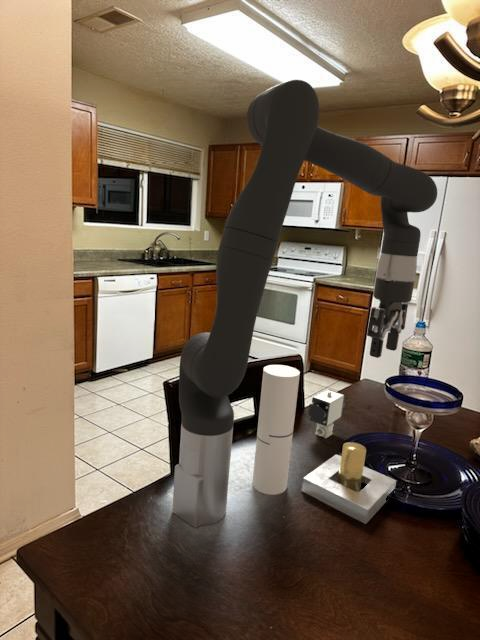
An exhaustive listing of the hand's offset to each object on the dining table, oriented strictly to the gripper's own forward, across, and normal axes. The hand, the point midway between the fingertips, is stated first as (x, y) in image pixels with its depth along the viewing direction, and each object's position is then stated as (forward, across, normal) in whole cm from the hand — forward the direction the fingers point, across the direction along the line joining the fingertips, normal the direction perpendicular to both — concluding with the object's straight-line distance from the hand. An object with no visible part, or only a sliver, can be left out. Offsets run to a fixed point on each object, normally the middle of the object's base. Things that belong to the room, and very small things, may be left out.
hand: (383, 353), depth 93 cm
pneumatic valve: (+28, -9, -16) cm, 34 cm away
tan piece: (+28, +10, +1) cm, 30 cm away
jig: (+28, +10, +1) cm, 30 cm away
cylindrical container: (+28, +20, -12) cm, 37 cm away
